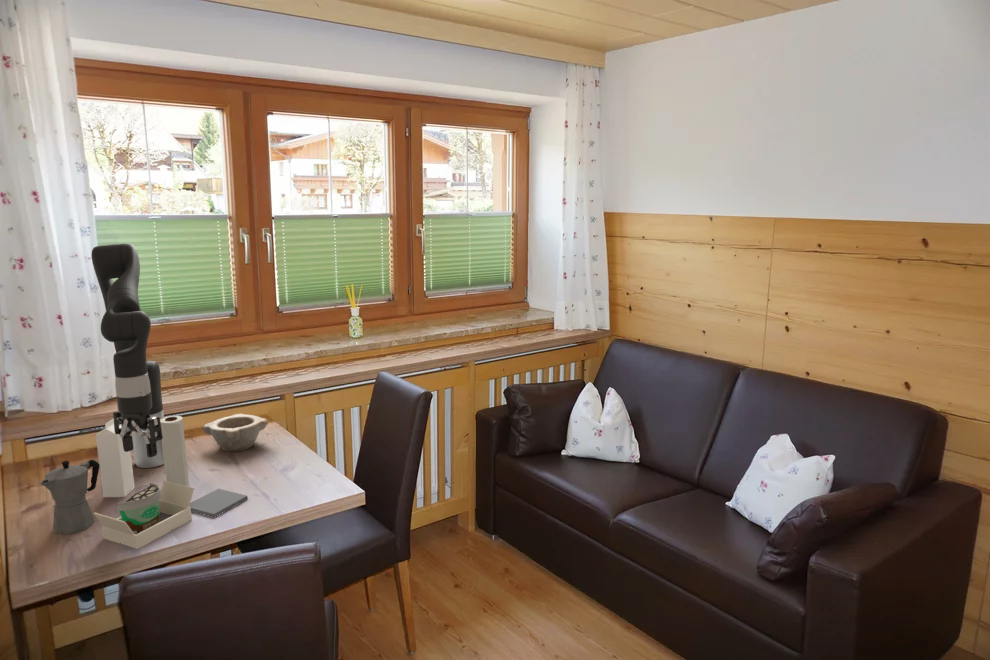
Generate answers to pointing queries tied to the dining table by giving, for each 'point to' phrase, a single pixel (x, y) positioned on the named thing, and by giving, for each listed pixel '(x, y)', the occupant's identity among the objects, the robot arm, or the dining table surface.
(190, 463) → the dining table surface
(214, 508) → the trivet
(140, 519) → the food container
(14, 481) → the dining table surface
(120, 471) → the milk
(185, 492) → the carton
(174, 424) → the paper towel roll
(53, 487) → the coffeepot
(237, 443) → the mortar
